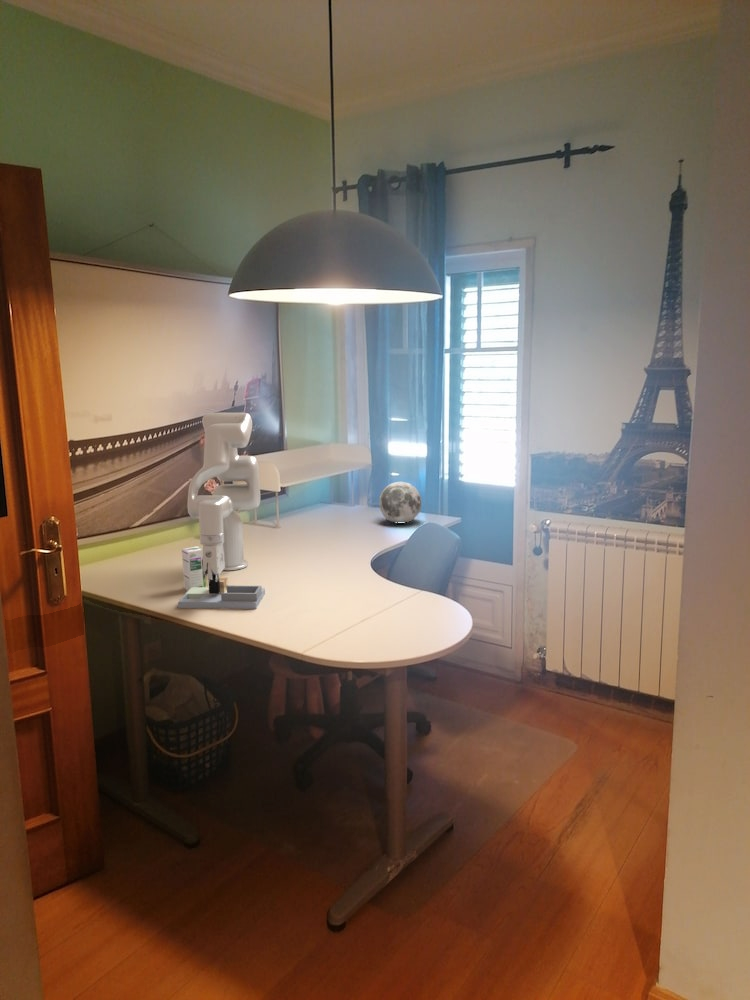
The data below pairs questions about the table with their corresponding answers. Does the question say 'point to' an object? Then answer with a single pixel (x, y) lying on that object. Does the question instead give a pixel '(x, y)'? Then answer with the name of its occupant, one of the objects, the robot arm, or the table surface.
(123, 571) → the table surface
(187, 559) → the syrup box
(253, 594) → the grey sorting tray
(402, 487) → the moon model
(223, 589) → the block
